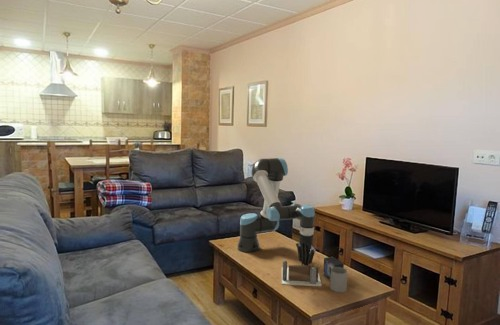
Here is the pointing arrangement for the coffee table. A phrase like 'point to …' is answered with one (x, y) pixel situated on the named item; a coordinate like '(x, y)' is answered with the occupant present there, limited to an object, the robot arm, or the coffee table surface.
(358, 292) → the coffee table surface
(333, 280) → the cup
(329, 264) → the small box
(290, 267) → the brown wooden plank
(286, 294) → the coffee table surface
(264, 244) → the coffee table surface
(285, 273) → the hinge post
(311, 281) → the post
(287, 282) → the board
